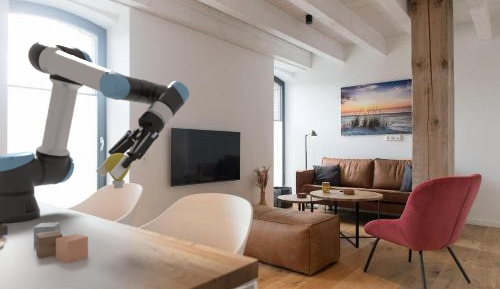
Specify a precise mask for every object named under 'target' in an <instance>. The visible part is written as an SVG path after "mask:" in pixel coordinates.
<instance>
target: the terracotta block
mask: <svg viewBox="0 0 500 289" xmlns="http://www.w3.org/2000/svg"><path fill="white" fill-rule="evenodd" d="M85 257H87V258H89V236H87V235H83V234H81V233H74V234H69V235H66V236H63V237H60V238H56V256H55V260H58V261H61V262H63V263H65V264H70V263H74V262H76V260H77V261H79V259H80V260H83V259H86V258H85ZM82 258H83V259H82Z"/></svg>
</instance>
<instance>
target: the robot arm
mask: <svg viewBox="0 0 500 289" xmlns="http://www.w3.org/2000/svg"><path fill="white" fill-rule="evenodd" d="M27 55H28V57H27V58H28V61H29V63H30V65H31V66H32V67H33V68H34V69H35V70H36V71H38V72H40V73H43V74H47V75H49V78H48V79H49V81H51V83H52V88H51V93H50V98H49V104H48V108H47V116H46V119H45V126H44V131H43V137H42V142H41V145H40V146H38V147H36V150H35V154H34V152H32V151H20V152H11V153H5V154H2V155H0V222H1V223H0V224H3V223H5V224H8V223H17V222H25V221H30V220H33V219H38V218H39V217H40V216H41V209H40V206H39V204H38V201H37V198H36V195H35V187H40V186H47V185H50V186H51V185H58V184H61V183H64V182H67V181H68V180H69V179H70V178H71V177H72V175H73V173H74V170H75V162H74V158H73V157H72V156H71V152H70V151H69V149H68V143H69V138H70V137H69V136H70V132H71V127H72V121H73V117H74V111H75V108H76V107H75V106H76V102H77V101H76V100H77V96H78V90H79V89H81V88H82V87H83V86H85V87H88V88H90V89H92V90H95V91H97V92H99V93H101V94H102V95H103V96H104V97H106V98H109V99H113V100H119V101H127V102H134V103H139V104H145V105H150V106H148V108H147V109H146V110H145V111H144V113H142V115H141V116H140V117H139V118H138V119H137V120H138V121H137V123H138V127H136V128H134V130H133V131H131V130H130V129H128V130H127V131H126V132H125V134H124V135H122V137H121V138H120V139H119V140H118V141H117V142H116V143H115V144H114V145H113V146H112V147H111V148H110V149H109V150H108V151H107V152H108V154H109V156H111V155H112V154H115V153H122V154H124V155H125V156H124V157H123V158H122V159H121V160H120V162H119V163H118V164H117V165H116V166H115V167H114V168H113V170H112V171H111V172H110V173H111V174H112V175H113V176H114V177H115V178H116V179H119V177H120V176H121V175H122V174H123V173H124V171H125V170H126V169H127V168H128V167H129V165H130V164H131V165H132V163H133V162H135V161H137V160H141V159H142V158H143V157H144V156H145V154H146V153H147V151H148V150H149V149H150V147H151V146H152V145H153V143H154V142H155V141H156V140H157V139H158V138H159V137H160V135H159V134H160V133H161V132H162V131H163V130H164V128H165V127H166V126H167V124H169V123H170V121H171V120H172V119H173V117H174V116H175V115H176V113H177V112H178V111H179V110H180V109H181V108H182V107H183V106H184V105H185V104H186V102H187V101H188V99H189V97H190V92H189V89H188V87H187V86H186V85H185V84H184V83H183V82H180V81H178V80H175V81H174V80H173V81H172V82H171V83H169V84H168V85H164V84H159V83H156V82H152V81H149V80H146V79H140V78H135V77H132V76H127V75H124V74H121V73H119V72H115V71H113V70H111V69H108V68H105V67H102V66H100V65H97V64H95V63H93V59H92V58H91V56H90V55H89V54H88V52H86V51H84V50H81V49H80V48H77V47H73V46H69V45H65V44H62V43H58V42H55V41H51V40H40V41H37V42H35V43H33V44H32V45H31V46H30V48H29V50H28V54H27ZM129 149H130V150H129ZM109 156H108V157H107V158H106V159H105V160H104V162H103V163H102V164H100V166H99V167H98V168H97V169H96V170H95V172H96V173H97V174H98V175H99V176H101V178H105V177H106V176H107V174H109V172H108V170H107V168H106V161H107V159H108V158H109Z"/></svg>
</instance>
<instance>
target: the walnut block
mask: <svg viewBox="0 0 500 289" xmlns="http://www.w3.org/2000/svg"><path fill="white" fill-rule="evenodd" d="M60 237H64V236H63V234H62V232H61V230H60V231H59V230H58V231H50V232H43V233H36V246H35V247H36V255H37V258H38V259H44V258H51V257H56V238H60Z"/></svg>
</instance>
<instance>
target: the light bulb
mask: <svg viewBox="0 0 500 289" xmlns="http://www.w3.org/2000/svg"><path fill="white" fill-rule="evenodd" d="M125 155H126V154H125V153H124V154H122V153H115V154H112V155H111V156H110V155H109V156H108V157H109V158H108V157H107V158H108V159H107V158H106V159H107V161H106V168H107V170H108V174H109V175H110V177H111V178H112V179H113V180H112V181H111V182H112V185H113V188H114V189H122V188H124V185H125V180H124V178H125V177H126V176H127V175H128V172H129V170H130V168H131V166H132V163H131V164H130V165H129V167H128V168H127V169H126V170H125V171H124V173H123V174H122V175H121V176H120V177H119V179H116V178H115V177H114V176H113V175H112V174H111V173H110V172H111V171H112V170H113V168H114V167H115V166H116V165H117V164H118V163H119V162H120V160H121V159H122V158H123V157H124V156H125Z"/></svg>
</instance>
